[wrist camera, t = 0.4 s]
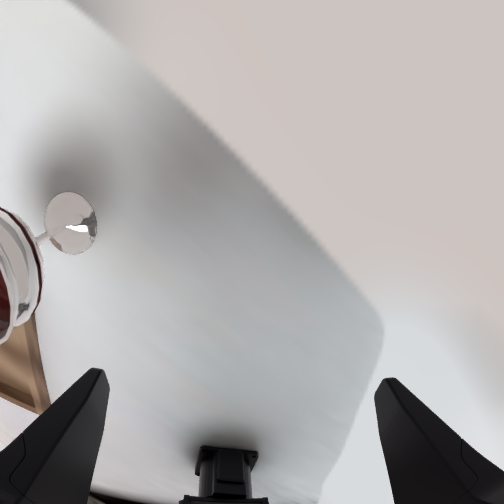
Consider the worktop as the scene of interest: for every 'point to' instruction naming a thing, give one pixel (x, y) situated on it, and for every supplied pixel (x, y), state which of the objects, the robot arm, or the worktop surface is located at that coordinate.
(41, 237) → the wineglass
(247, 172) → the worktop surface
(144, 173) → the worktop surface
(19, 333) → the tray
